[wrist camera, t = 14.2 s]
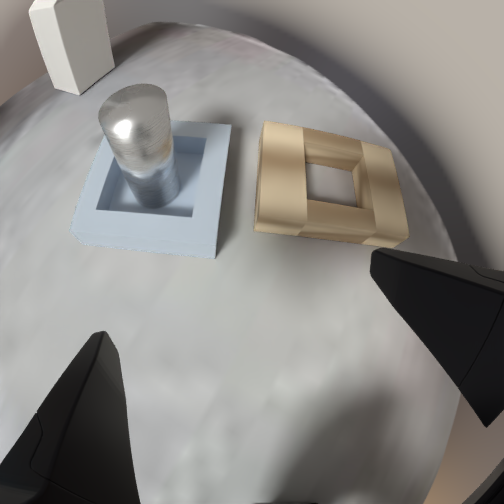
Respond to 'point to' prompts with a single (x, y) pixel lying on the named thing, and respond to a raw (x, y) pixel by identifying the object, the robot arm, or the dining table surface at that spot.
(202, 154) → the seat block
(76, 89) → the milk carton
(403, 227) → the tan rectangular frame
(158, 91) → the steel axle
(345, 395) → the dining table surface
